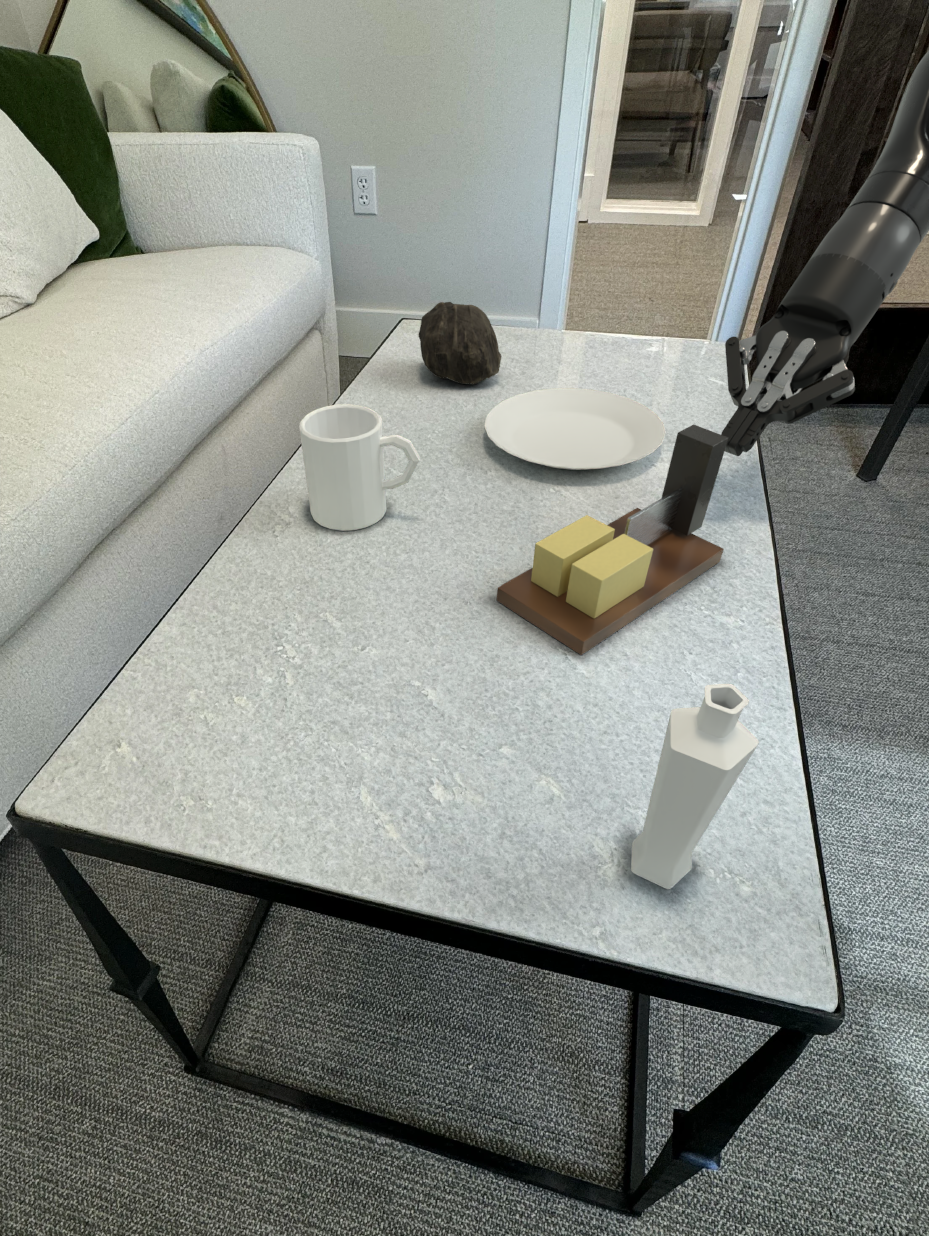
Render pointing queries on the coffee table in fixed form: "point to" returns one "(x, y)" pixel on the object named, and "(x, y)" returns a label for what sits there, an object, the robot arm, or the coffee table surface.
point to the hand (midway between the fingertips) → (729, 450)
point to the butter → (590, 565)
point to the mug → (349, 465)
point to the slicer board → (666, 574)
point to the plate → (574, 428)
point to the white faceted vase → (692, 782)
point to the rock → (459, 343)
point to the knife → (682, 487)
